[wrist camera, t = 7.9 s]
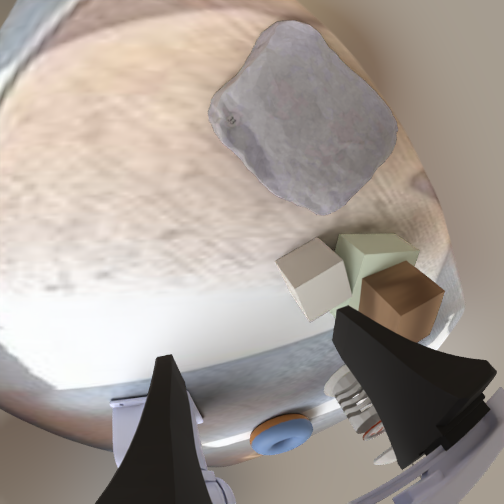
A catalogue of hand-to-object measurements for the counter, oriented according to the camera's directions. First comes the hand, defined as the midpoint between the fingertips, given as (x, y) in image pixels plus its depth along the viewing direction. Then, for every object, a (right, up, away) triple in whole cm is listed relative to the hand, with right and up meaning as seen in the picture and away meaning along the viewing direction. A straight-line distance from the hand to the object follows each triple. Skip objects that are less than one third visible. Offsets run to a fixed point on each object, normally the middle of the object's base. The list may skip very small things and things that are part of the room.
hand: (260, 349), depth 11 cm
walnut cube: (+11, 0, +11) cm, 16 cm away
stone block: (+3, +13, +7) cm, 15 cm away
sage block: (+10, +3, +15) cm, 18 cm away
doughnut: (+4, -23, +27) cm, 36 cm away
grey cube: (+4, +3, +12) cm, 13 cm away
